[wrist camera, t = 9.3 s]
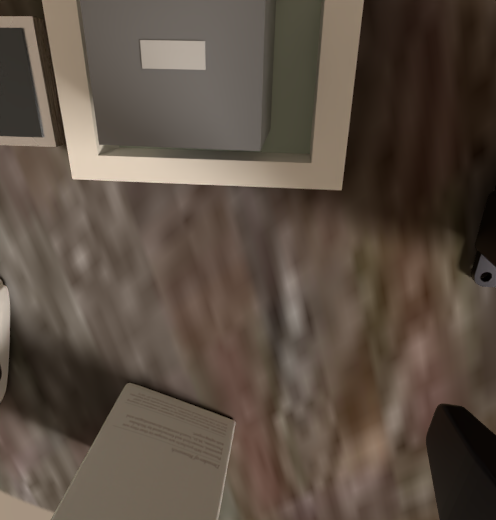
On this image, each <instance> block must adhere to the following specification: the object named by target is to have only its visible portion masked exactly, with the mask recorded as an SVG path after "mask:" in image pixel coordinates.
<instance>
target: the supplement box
mask: <svg viewBox="0 0 496 520" xmlns="http://www.w3.org/2000/svg"><path fill="white" fill-rule="evenodd" d="M235 424H236V422H235V421H234V420H231V419H229V418H227V417H224V416H221V415H219V414H216V413H213V412H210V411H208V410H205V409H202V408H199V407H197V406H194V405H192V404H189V403H186V402H183V401H181V400H178V399H175V398H173V397H170V396H167V395H164V394H161V393H159V392H156V391H153V390H150V389H148V388H145V387H142V386H139V385H136V384H133V383H127V384H126V385H125V387H124V388H123V390H122V392H121V393H120V395H119V397H118V399H117V401H116V402H115V404H114V406H113V408H112V410H111V411H110V413H109V415H108V417H107V418H106V420H105V422H104V424H103V426H102V428H101V430H100V431H99V433H98V435H97V437H96V439H95V440H94V442H93V444H92V446H91V448H90V449H89V451H88V453H87V455H86V457H85V458H84V460H83V462H82V464H81V466H80V467H79V469H78V471H77V473H76V475H75V477H74V478H73V480H72V482H71V484H70V486H69V488H68V489H67V491H66V493H65V495H64V497H63V499H62V500H61V502H60V504H59V506H58V508H57V510H56V511H55V513H54V515H53V517H52V519H51V520H218V517H219V512H220V506H221V501H222V495H223V489H224V484H225V478H226V473H227V467H228V462H229V456H230V451H231V445H232V439H233V434H234V428H235Z"/></svg>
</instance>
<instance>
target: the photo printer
mask: <svg viewBox="0 0 496 520" xmlns="http://www.w3.org/2000/svg"><path fill="white" fill-rule="evenodd" d="M9 347H10V298H9V292H8V288H7V286H5V285H3V282H2V280H1V279H0V365H1V369H2V377H1V380H0V403H1V401H2V400H3V397H4V395H5V392H6V387H7V378H8V366H9Z"/></svg>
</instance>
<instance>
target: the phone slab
mask: <svg viewBox="0 0 496 520" xmlns="http://www.w3.org/2000/svg"><path fill="white" fill-rule="evenodd" d="M0 145H16V146H46V147H57V146H61V145H65V138H64V132H63V127H62V121H61V115H60V109H59V103H58V98H57V92H56V86H55V80H54V75H53V69H52V63H51V57H50V51H49V46H48V40H47V34H46V28H45V23H44V19H41V18H37V17H33V16H0Z"/></svg>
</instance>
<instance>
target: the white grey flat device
mask: <svg viewBox="0 0 496 520" xmlns="http://www.w3.org/2000/svg"><path fill="white" fill-rule="evenodd" d="M42 4H43V10H44V16H45V22H46V28H47V33H48V39H49V45H50V51H51V57H52V62H53V68H54V74H55V80H56V86H57V91H58V97H59V103H60V109H61V115H62V121H63V126H64V132H65V138H66V144H67V150H68V155H69V161H70V167H71V173H72V179H82V180H106V181H130V182H154V183H178V184H202V185H226V186H250V187H274V188H298V189H322V190H342V184H343V175H344V166H345V158H346V149H347V141H348V132H349V124H350V115H351V107H352V98H353V89H354V81H355V72H356V64H357V55H358V47H359V38H360V30H361V21H362V12H363V4H364V0H276V14H275V37H274V60H273V83H272V105H271V128H270V132H269V134H268V136H267V138H266V140H265V142H264V144H263V147H262V149H261V151H243V150H218V149H193V148H168V147H143V146H118V145H99V141H98V133H97V126H96V118H95V111H94V103H93V96H92V88H91V80H90V73H89V65H88V58H87V50H86V43H85V35H84V28H83V20H82V13H81V5H80V0H42Z"/></svg>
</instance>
